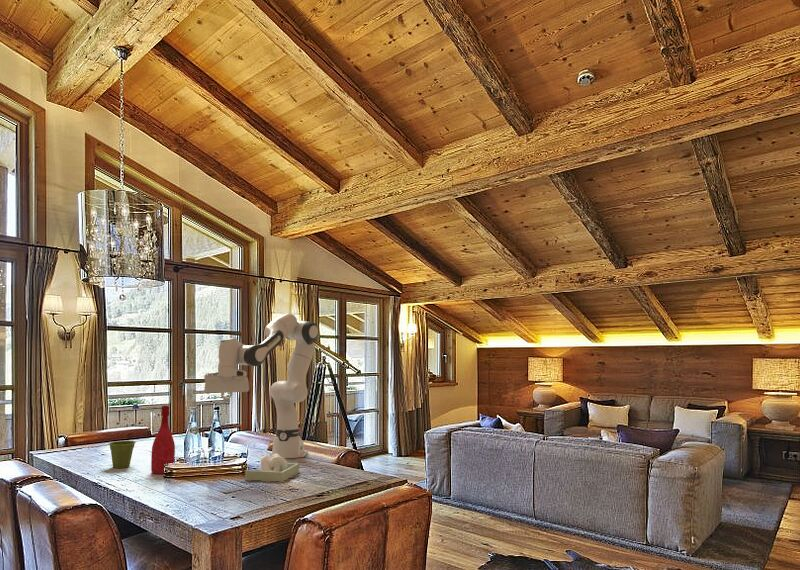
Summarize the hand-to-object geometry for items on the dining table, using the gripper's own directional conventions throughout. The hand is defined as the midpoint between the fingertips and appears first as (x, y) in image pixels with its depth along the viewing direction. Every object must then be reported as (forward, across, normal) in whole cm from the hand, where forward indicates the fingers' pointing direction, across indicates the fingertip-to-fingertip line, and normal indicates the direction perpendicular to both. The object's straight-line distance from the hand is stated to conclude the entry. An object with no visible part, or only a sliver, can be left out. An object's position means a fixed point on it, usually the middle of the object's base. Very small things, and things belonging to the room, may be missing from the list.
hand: (226, 401), depth 281 cm
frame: (+31, +22, -18) cm, 42 cm away
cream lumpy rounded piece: (+31, +22, -17) cm, 42 cm away
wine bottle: (+31, -27, -2) cm, 41 cm away
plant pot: (+31, -48, +15) cm, 59 cm away
